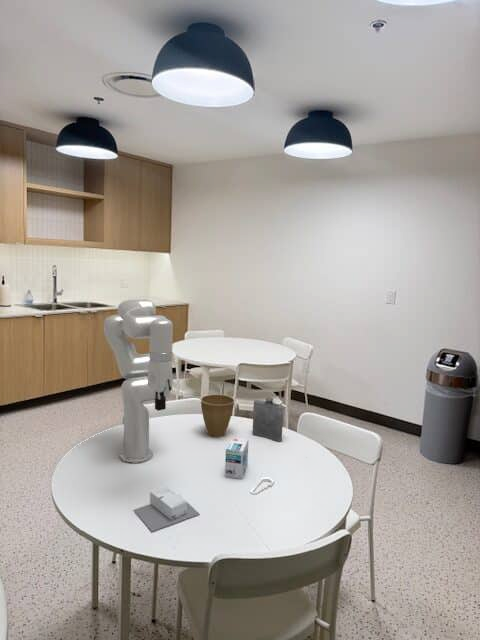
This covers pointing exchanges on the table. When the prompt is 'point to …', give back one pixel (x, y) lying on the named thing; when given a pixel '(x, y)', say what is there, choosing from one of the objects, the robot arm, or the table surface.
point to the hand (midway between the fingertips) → (160, 409)
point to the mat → (161, 517)
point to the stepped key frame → (262, 479)
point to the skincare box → (168, 502)
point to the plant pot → (217, 413)
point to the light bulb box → (236, 458)
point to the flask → (268, 419)
